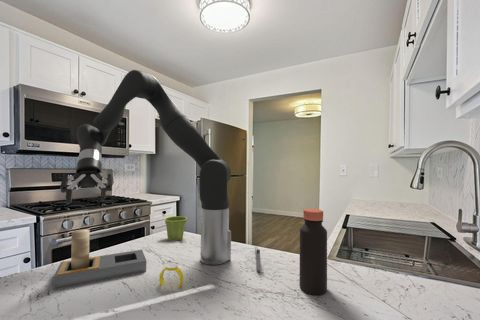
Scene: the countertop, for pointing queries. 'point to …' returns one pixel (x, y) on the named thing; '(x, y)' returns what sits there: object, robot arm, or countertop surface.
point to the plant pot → (175, 227)
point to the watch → (171, 268)
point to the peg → (80, 249)
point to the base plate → (100, 269)
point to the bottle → (313, 253)
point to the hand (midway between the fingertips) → (86, 200)
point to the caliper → (257, 258)
